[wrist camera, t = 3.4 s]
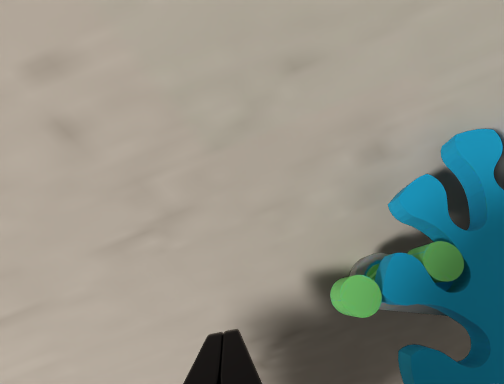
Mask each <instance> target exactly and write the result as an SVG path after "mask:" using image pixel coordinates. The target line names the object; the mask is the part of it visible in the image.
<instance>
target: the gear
mask: <svg viewBox="0 0 504 384" xmlns="http://www.w3.org/2000/svg"><path fill="white" fill-rule="evenodd" d="M502 150H503V146H502V141H501V139H500V137H499V135H498V134H497V133H496V132H495V131H494V130H491V129H476V130H471V131H467V132H463V133H460V134H457V135H455V136H454V137H453V138H451V139H450V140H449V141H448V142H447V143H445V144H444V145H443V146H442V148H441V157H442V160H443V162H444V163H445V165H446V166H447V167H448V168H449V169H450V170H451V171H452V172H453V173H454V174H455V176H456V177H457V178H458V180H459V181H460V183H461V185H462V186H463V188H464V190H465V193H466V196H467V200H468V205H469V214H470V225H469V228H468V230H463V229H461V228H459V227H458V226H456V225H455V224H454V223H453V221H452V220H451V218H450V216H449V213H448V204H447V195H446V191H445V189H444V187H443V185H442V184H441V183H440V182H439V181H438V180H437V179H436V178H435V177H433V176H431V175H429V174H425V175H423V176H421V177H419V178H417V179H416V180H414V181H413V182H412V183H410V184H409V185H408V186H406V187H405V188H404V189H402V190H401V191H400V192H399V193H398V194H397V195H396V196H395V197H394V198H393V199H392V200H391V202H390V203H389V204H388V207H389V210H390V212H391V213H392V215H393V216H394V217H395V218H396V219H397V220H399V221H400V222H402V223H404V224H407V225H410V226H412V227H414V228H416V229H418V230H420V231H421V232H423V233H424V234H425V235H427V236H428V237H429V238H430V239H431V240H432V241H433V243H430V244H427V245H424V246H421V247H417V248H414V249H412V250H410V251H409V252H408V253H407V254H406V253H394V254H391V255H389V254H385V253H376V254H372V255H369V256H367V257H364V258H362V259H360V260H359V261H358V262H357V263H355V265H354V266H353V268H352V270H351V273H350V276H349V277H345V278H342V279H339V280H338V281H336V282H335V283H334V285H333V286H332V289H331V293H330V297H331V301H332V304H333V306H334V307H335V308H336V309H337V310H338V311H339V312H340V313H342V314H345V315H349V316H354V317H360V318H365V317H369V316H372V315H373V314H375V313H376V312H377V311H378V310H389V311H400V312H411V313H423V314H434V315H445V316H449V317H451V318H452V319H454V320H455V321H457V322H458V323H460V324H461V325H462V326H463V327H464V328H465V329H466V330H467V332H468V334H469V336H470V339H471V349H470V352H469V354H468V356H467V357H466V358H465V359H463V360H461V361H458V362H456V361H454V360H453V359H452V358H450V357H449V356H447V355H446V354H444V353H442V352H440V351H438V350H435V349H431V348H428V347H425V346H421V345H415V344H412V345H407V346H405V347H403V348H401V349H400V350H399V351H398V362H399V368H400V373H401V376H402V379H403V383H404V384H504V190H503V189H502V188H501V187H500V186H499V185H498V184H497V183H496V180H495V178H494V168H495V166H496V164H497V162H498V160H499V158H500V156H501V154H502Z"/></svg>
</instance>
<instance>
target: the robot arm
mask: <svg viewBox="0 0 504 384" xmlns="http://www.w3.org/2000/svg"><path fill="white" fill-rule="evenodd" d="M183 384H262V382H261V380H260V378H259V375H258V373H257V371H256V368H255V366H254V364H253V361H252V359H251V357H250V355H249V352H248V350H247V348H246V345H245V343H244V341H243V338H242V336H241V334H240V332H239V330H238V329H234V330H229V331H225V332H224V333H222V332H219V333H214V334H210V335H208V336H207V338H206V340H205V342H204V344H203V346H202V348H201V350H200V352H199V354H198V356H197V358H196V360H195V362H194V364H193V366H192V368H191V370H190V371H189V373H188V375H187V377H186V379H185V381H184V383H183Z"/></svg>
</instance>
